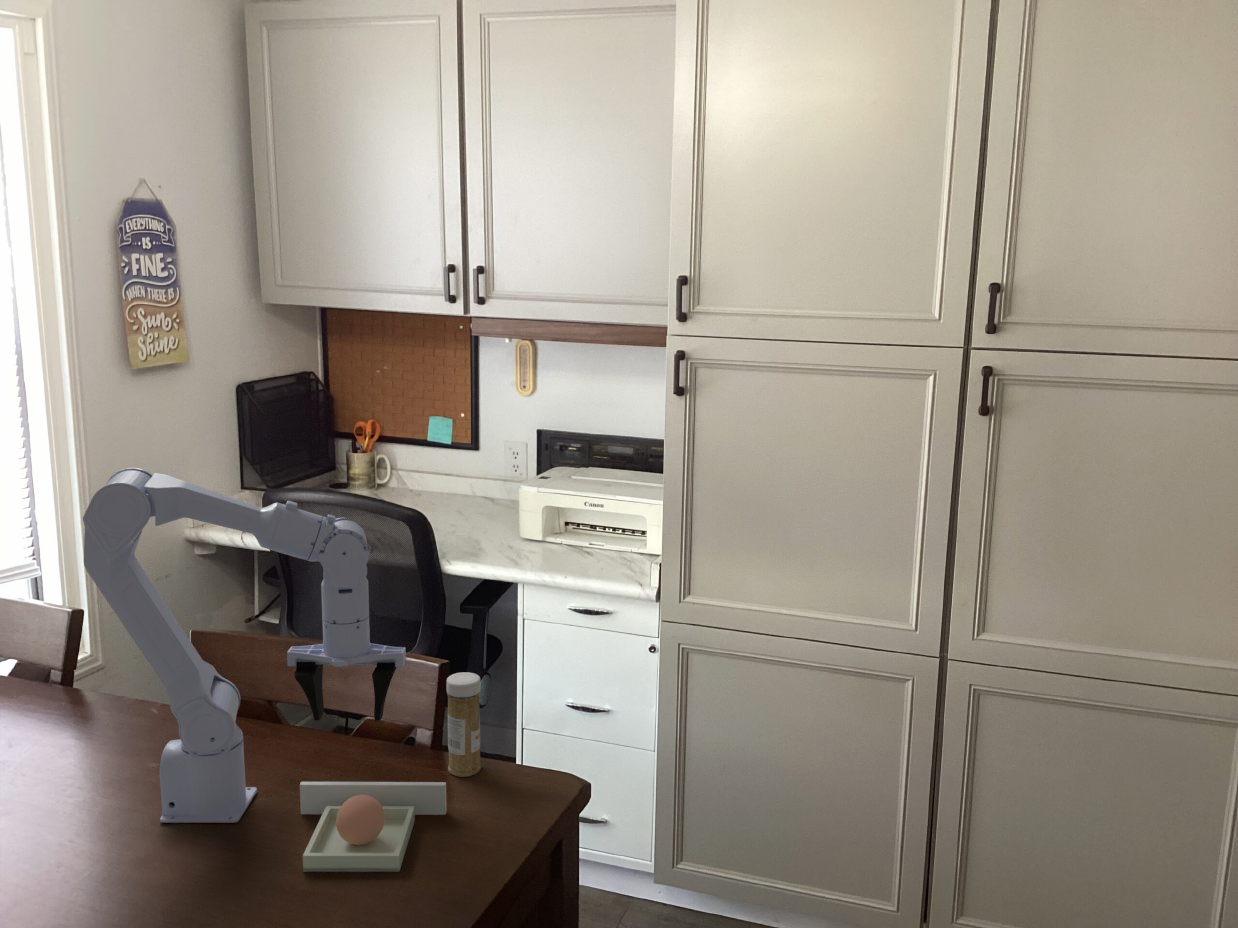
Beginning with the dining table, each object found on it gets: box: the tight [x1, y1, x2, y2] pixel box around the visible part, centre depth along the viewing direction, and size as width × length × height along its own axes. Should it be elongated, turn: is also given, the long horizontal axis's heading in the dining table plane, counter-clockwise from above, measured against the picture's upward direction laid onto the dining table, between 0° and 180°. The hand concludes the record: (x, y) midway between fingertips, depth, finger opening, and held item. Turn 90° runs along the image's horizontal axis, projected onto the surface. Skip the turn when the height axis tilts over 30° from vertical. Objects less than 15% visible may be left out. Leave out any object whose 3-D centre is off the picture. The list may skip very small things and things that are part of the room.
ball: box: [336, 795, 385, 845], centre depth 121 cm, size 6×6×6 cm
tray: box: [302, 806, 416, 873], centre depth 121 cm, size 11×11×2 cm
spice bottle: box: [445, 671, 482, 778], centre depth 139 cm, size 5×5×14 cm
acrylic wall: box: [299, 781, 447, 816], centre depth 128 cm, size 18×1×4 cm, turn 92°
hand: (348, 717), depth 132 cm, fingers open, 7 cm apart
